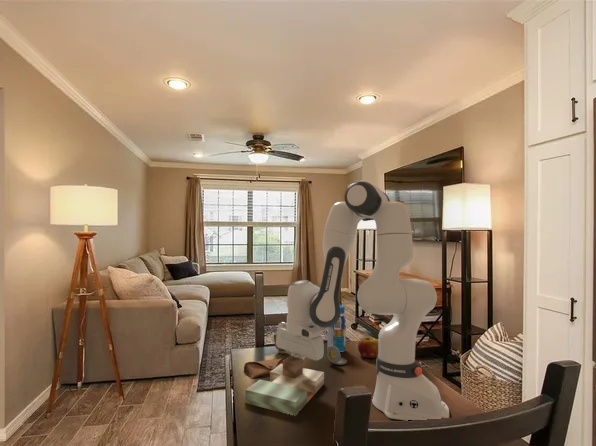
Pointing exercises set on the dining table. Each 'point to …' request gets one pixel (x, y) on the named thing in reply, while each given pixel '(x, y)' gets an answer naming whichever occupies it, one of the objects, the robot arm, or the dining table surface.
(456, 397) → the dining table surface
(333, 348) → the pocket watch
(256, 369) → the sunglasses case
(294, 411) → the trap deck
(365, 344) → the fruit
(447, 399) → the dining table surface
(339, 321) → the blue labeled canister
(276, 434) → the dining table surface
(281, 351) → the cup
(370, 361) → the dining table surface
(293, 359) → the walnut block
